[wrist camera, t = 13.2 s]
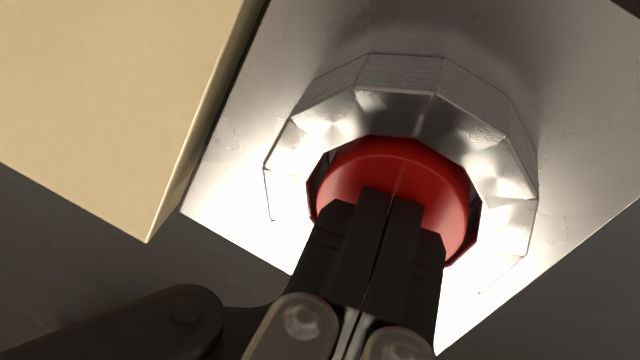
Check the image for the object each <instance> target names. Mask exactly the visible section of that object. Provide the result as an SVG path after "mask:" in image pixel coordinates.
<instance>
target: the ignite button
mask: <svg viewBox="0 0 640 360" xmlns="http://www.w3.org/2000/svg"><path fill="white" fill-rule="evenodd" d="M363 185H366V186H369V187H372V188H375V189H378V190H381V191H384V192H387V193H390V194H393V196H392V199H391V203H390V206H389V209H390V207H391V204H392V201H393V199H394V197H395V195H396V196H399V197H402V198H405V199H408V200H411V201H414V202H417V203H420V204H423V205H425V209H424V214H423V219H422V224H421V227H422V228H425V229H428V230H431V231H434V232H437V233H440V235H441V238H442V241H443V243H444V246H445V249H446V259H445V261H447V260H448V259H449V258H450V257H451V256H453V254H454V253H455V252H456V251H457V250H458V248H459V247H460V245H461V244H462V242H463V239H464V237H465V233H466V228H467V219H468V210H469V201H470V192H471V182H470V181H469V179H468V177H467V175H466V174H465V172H464V170H463V168H462V167H461V166H460V165H458V164H456V163H455V162H453V161H451V160H450V159H448V158H446V157H445V156H443V155H441V154H440V153H438V152H436V151H435V150H433V149H431V148H430V147H428V146H426V145H424V144H423V143H421V142H419V141H418V140H416V139H409V138H398V137H388V136H377V135H367V136H364V137H362V138H359V139H357V140H354V141H352V142H350V143H347V144H345V145H342V146H340V147H338V149H337V151H336V153H335V155H334V157H333V159H332V161H331V163H330V165H329V168H328V170H327V172H326V174H325V176H324V178H323V180H322V182H321V185H320V187H319V190H318V193H317V198H316V211H317V217H318V215H319V212H320V210H321V209H322V208H323V207H324V206H326V205H327V204H328V203H330V202H331V201H332V200H334V199H335V198H337V199H339V200H342V201H345V202H348V203H351V204H354V205H356V204H357V202H358V199H359V196H360V193H361V191H362V188H363ZM388 212H389V210H388ZM387 215H388V213H387Z"/></svg>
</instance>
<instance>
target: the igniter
mask: <svg viewBox="0 0 640 360" xmlns="http://www.w3.org/2000/svg"><path fill="white" fill-rule="evenodd" d="M367 135H377V136H388V137H398V138H409V139H416V140H418V141H419V142H421V143H423V144H424V145H426V146H428V147H430V148H431V149H433V150H435V151H436V152H438V153H440V154H441V155H443V156H445V157H446V158H448V159H450V160H451V161H453V162H455V163H456V164H458V165H460V166H461V167H462V168H463V170H464V172H465V174H466V175H467V177H468V179H469V181H470V182H471V192H470V201H469V210H468V219H467V228H466V233H465V237H464V239H463V242H462V244H461V245H460V247H459V248H458V250H457V251H456V252H455V253H454V254H453V256H451V257H450V258H449V259H448V260H447V261H445V266H444V271H443V273H444V274H443V281H442V285H441V295H440V302H439V309H438V316H437V323H436V330H435V337H434V350H435V354H436V356H438V355H439V354H440V353H441V352H443V351H444V350H445V349H446V348H448V347H449V346H450V345H452V344H453V343H454V342H455V341H457V340H458V339H459V338H461V337H462V336H463V335H464V334H466V333H467V332H468V331H469V330H471V329H472V328H473V327H475V326H476V325H477V324H478V323H480V322H481V321H482V320H484V319H485V318H486V317H487V316H489V315H490V314H491V313H492V312H494V311H495V310H496V309H498V308H499V307H500V306H501V305H503V304H504V303H505V302H507V301H508V300H509V299H510V298H512V297H513V296H514V295H516V294H517V293H518V292H519V291H521V290H522V289H523V288H524V287H526V286H527V285H528V284H530V283H531V282H532V281H533V280H535V279H536V278H537V277H539V276H540V275H541V274H542V273H544V272H545V271H546V270H547V269H549V268H550V267H551V266H553V265H554V264H555V263H556V262H558V261H559V260H560V259H562V258H563V257H564V256H565V255H567V254H568V253H569V252H570V251H572V250H573V249H574V248H576V247H577V246H578V245H579V244H581V243H582V242H583V241H585V240H586V239H587V238H588V237H590V236H591V235H592V234H594V233H595V232H596V231H597V230H599V229H600V228H601V227H602V226H604V225H605V224H606V223H608V222H609V221H610V220H611V219H613V218H614V217H615V216H617V215H618V214H619V213H620V212H622V211H623V210H624V209H625V208H627V207H628V206H629V205H631V204H632V203H633V202H634V201H636V200H637V199H638V198H640V0H270V2H269V5H268V7H267V9H266V11H265V14H264V16H263V18H262V21H261V23H260V25H259V28H258V30H257V32H256V35H255V37H254V39H253V41H252V44H251V46H250V48H249V51H248V53H247V55H246V58H245V60H244V62H243V64H242V67H241V69H240V71H239V74H238V76H237V78H236V81H235V83H234V85H233V88H232V90H231V92H230V94H229V97H228V99H227V101H226V104H225V106H224V108H223V111H222V113H221V115H220V118H219V120H218V122H217V124H216V127H215V129H214V131H213V134H212V136H211V138H210V141H209V143H208V145H207V148H206V150H205V152H204V154H203V157H202V159H201V161H200V164H199V166H198V168H197V171H196V173H195V175H194V177H193V180H192V182H191V184H190V187H189V189H188V191H187V194H186V196H185V198H184V201H183V203H182V205H181V207H180V210H179V212H180V213H182V214H184V215H186V216H187V217H189V218H191V219H193V220H194V221H196V222H198V223H200V224H202V225H203V226H205V227H207V228H209V229H210V230H212V231H214V232H216V233H217V234H219V235H221V236H223V237H224V238H226V239H228V240H230V241H231V242H233V243H235V244H237V245H239V246H240V247H242V248H244V249H246V250H247V251H249V252H251V253H253V254H254V255H256V256H258V257H260V258H261V259H263V260H265V261H267V262H268V263H270V264H272V265H274V266H275V267H277V268H279V269H281V270H283V271H284V272H286V273H288V274H290V275H291V276H292V274H293V271H294V269H295V267H296V264H297V262H298V260H299V258H300V255H301V253H302V251H303V249H304V246H305V244H306V242H307V240H308V237H309V235H310V233H311V230H312V228H313V226H314V224H315V221H316V219H317V211H316V198H317V193H318V190H319V187H320V185H321V182H322V180H323V178H324V176H325V174H326V172H327V170H328V168H329V165H330V163H331V161H332V159H333V157H334V155H335V153H336V151H337V149H338V147H340V146H342V145H345V144H347V143H350V142H352V141H354V140H357V139H359V138H362V137H364V136H367Z"/></svg>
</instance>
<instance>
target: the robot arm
mask: <svg viewBox="0 0 640 360" xmlns="http://www.w3.org/2000/svg"><path fill="white" fill-rule="evenodd" d="M392 196H393V194H390V193H387V192H384V191H381V190H378V189H375V188H372V187H369V186H366V185H363V188H362V191H361V193H360V196H359V199H358V202H357V204H356V205H354V204H351V203H348V202H345V201H342V200H339V199H337V198H335V199H334V200H332V201H331V202H330V203H328V204H327V205H326V206H324V207H323V208H322V209H321V210H320V212H319V215H318V217H317V219H316V221H315V224H314V226H313V228H312V230H311V233H310V235H309V237H308V240H307V242H306V244H305V246H304V249H303V251H302V253H301V255H300V258H299V260H298V262H297V264H296V267H295V269H294V271H293V274H292V276H291V278H290V280H289V283H288V285H287V287H286V289H285V291H284V292H283V293H282V295H281V296H280V297H278V298H277V299H276V300H274V301H273V302H271V303H269V304H267V305H264V306H260V307H254V308H239V307H223V304H222V302H221V300H220V299H219V298H218V296H217V295H216V294H215V293H213V292H212V291H211V290H209V289H207V288H205V287H202V286H199V285H194V284H181V285H175V286H172V287H169V288H167V289H164V290H161V291H159V292H156V293H154V294H151V295H148V296H146V297H143V298H141V299H138V300H136V301H133V302H130V303H128V304H125V305H123V306H120V307H117V308H115V309H112V310H110V311H107V312H104V313H102V314H99V315H97V316H94V317H91V318H89V319H86V320H84V321H81V322H78V323H76V324H73V325H71V326H68V327H66V328H63V329H60V330H58V331H55V332H53V333H50V334H47V335H45V336H42V337H40V338H37V339H34V340H32V341H29V342H27V343H24V344H21V345H19V346H16V347H14V348H11V349H8V350H6V351H3V352H1V353H0V360H341V357H342V355H343V352H344V355H343V358H342V360H437V358H436V354H435V350H434V337H435V330H436V323H437V316H438V309H439V302H440V295H441V285H442V281H443V274H444V273H443V271H444V266H445V259H446V249H445V246H444V243H443V241H442V238H441V235H440V233H437V232H434V231H431V230H428V229H425V228H422V227H421V224H422V219H423V214H424V209H425V205H423V204H420V203H417V202H414V201H411V200H408V199H405V198H402V197H399V196H396V195H395V197H394V199H393V201H392V204H391V207H390V209H389V206H390V203H391V199H392ZM388 210H389V212H388ZM387 213H388V215H387ZM346 344H347V345H346ZM345 347H346V348H345ZM344 349H345V351H344Z"/></svg>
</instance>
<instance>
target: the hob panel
mask: <svg viewBox="0 0 640 360" xmlns="http://www.w3.org/2000/svg"><path fill="white" fill-rule="evenodd" d="M265 1H266V0H0V162H1V163H3V164H5V165H7V166H8V167H10V168H12V169H14V170H16V171H17V172H19V173H21V174H23V175H25V176H26V177H28V178H30V179H32V180H33V181H35V182H37V183H39V184H41V185H42V186H44V187H46V188H48V189H49V190H51V191H53V192H55V193H57V194H58V195H60V196H62V197H64V198H66V199H67V200H69V201H71V202H73V203H74V204H76V205H78V206H80V207H82V208H83V209H85V210H87V211H89V212H91V213H92V214H94V215H96V216H98V217H99V218H101V219H103V220H105V221H107V222H108V223H110V224H112V225H114V226H115V227H117V228H119V229H121V230H123V231H124V232H126V233H128V234H130V235H132V236H133V237H135V238H137V239H139V240H140V241H142V242H144V243H147V242H149V240H150V239H151V238H152V237H153V235H154V234H155V233H156V231H157V230H158V229H159V228H160V226H161V225H162V224H163V222H164V221H165V220H166V218H167V217H168V216H169V215H170V213H171V212H172V211H173V209H174V208H175V207H176V206H177V204H178V203H179V202H180V200H181V197H182V195H183V193H184V190H185V188H186V186H187V183H188V181H189V179H190V176H191V174H192V172H193V169H194V167H195V165H196V162H197V160H198V158H199V155H200V153H201V151H202V148H203V146H204V144H205V141H206V139H207V137H208V134H209V132H210V130H211V127H212V125H213V123H214V120H215V118H216V116H217V113H218V111H219V108H220V106H221V104H222V101H223V99H224V97H225V94H226V92H227V90H228V87H229V85H230V83H231V80H232V78H233V76H234V73H235V71H236V69H237V66H238V64H239V62H240V59H241V57H242V55H243V52H244V50H245V48H246V45H247V43H248V41H249V38H250V36H251V34H252V31H253V29H254V27H255V24H256V22H257V20H258V17H259V15H260V13H261V10H262V8H263V6H264V3H265Z"/></svg>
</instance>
